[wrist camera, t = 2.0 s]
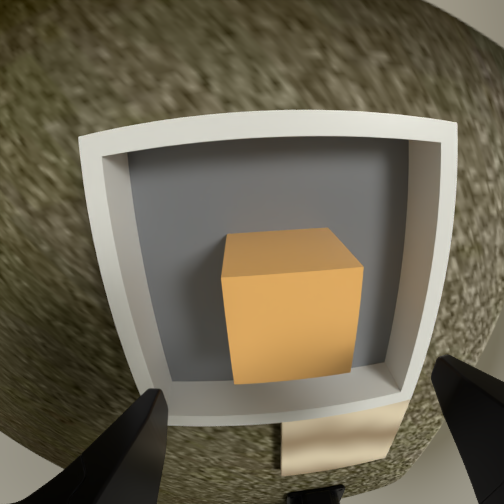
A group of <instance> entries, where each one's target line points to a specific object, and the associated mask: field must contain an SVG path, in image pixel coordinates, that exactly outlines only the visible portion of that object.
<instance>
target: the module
mask: <svg viewBox="0 0 504 504" xmlns="http://www.w3.org/2000/svg"><path fill="white" fill-rule="evenodd" d="M363 270H364V267H363V265H362V264H361V263H360V262H359V261H358V260H357V259H356V258H355V256H354V255H353V254H352V253H351V252H350V251H349V250H348V249H347V248H346V246H345V245H344V244H343V243H342V242H341V241H340V240H339V239H338V238H337V237H336V236H335V234H334V233H333V232H332V231H331V230H330V229H329V228H311V229H295V230H279V231H264V232H249V233H234V234H227V237H226V244H225V252H224V259H223V266H222V274H221V282H222V291H223V300H224V308H225V317H226V325H227V333H228V341H229V349H230V356H231V364H232V371H233V379H234V385H235V384H253V383H267V382H279V381H289V380H299V379H308V378H316V377H323V376H331V375H338V374H344V373H350V372H351V366H352V360H353V354H354V347H355V340H356V333H357V326H358V318H359V310H360V301H361V291H362V281H363Z"/></svg>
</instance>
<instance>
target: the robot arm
mask: <svg viewBox="0 0 504 504" xmlns="http://www.w3.org/2000/svg"><path fill="white" fill-rule="evenodd" d="M431 380H432V384H433V386H434V389H435V392H436V395H437V398H438V401H439V404H440V407H441V410H442V413H443V415H444V418H445V420H446V422H447V424H448V427H449V429H450V431H451V433H452V436H453V438H454V441H455V443H456V445H457V448H458V450H459V453H460V455H461V458H462V460H463V463H464V465H465V468H466V470H467V473H468V476H469V478H470V481H471V483H472V486H473V489H474V492H475V495H476V498H477V500H478V503H479V504H504V382H503V381H501V380H499V379H497V378H494V377H493V376H491V375H489V374H486V373H484V372H482V371H481V370H478V369H477V368H475V367H473V366H471V365H469V364H467V363H465V362H463V361H461V360H459V359H457V358H455V357H453V356H451V355H443V356H440V357H438V358H437V360H436V363H435V366H434V368H433V371H432V374H431ZM167 425H168V405H167V402H166V399H165V397H164V394H163V391H162V390H161V389H159V388H149V389H147V390H146V391H145V392H144V393H143V394H142V395H141V396H140V397H139V398H138V399H137V400H136V401H135V402H134V403H133V404H132V405H131V406H130V407H129V408H128V409H127V410H126V411H125V412H124V413H123V414H122V415H121V416H120V417H119V418H118V419H117V420H116V421H115V422H114V423H113V424H112V425H111V426H110V427H109V428H108V429H106V430H105V431H104V432H103V433H102V434H101V435H100V436H99V437H98V438H97V439H96V440H95V441H94V442H93V443H92V444H91V445H90V446H89V447H88V448H87V449H86V450H85V451H84V452H83V453H82V454H81V455H82V456H81V455H79V456H78V457H77V458H76V459H75V460H74V461H73V462H72V463H71V464H70V465H69V466H68V467H66V468H65V469H64V470H63V471H62V472H61V473H59V474H58V475H57V476H56V477H54V478H53V479H52V480H50V481H49V482H48V483H46V484H45V485H43V486H42V487H41V488H39V489H38V490H37V491H35V492H34V493H32V494H31V495H30V496H28V497H26V498H25V499H23V500H21V501H18V502H16V503H11V504H157V498H158V492H159V486H160V481H161V475H162V470H163V465H164V459H165V453H166V440H167ZM344 490H345V486H344V485H341V486H336V487H330V488H324V489H318V490H312V491H305V492H297V493H290V494H287V501H286V504H340V500H341V497H342V495H343V493H344Z"/></svg>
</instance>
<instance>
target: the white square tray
mask: <svg viewBox="0 0 504 504" xmlns="http://www.w3.org/2000/svg"><path fill="white" fill-rule="evenodd" d="M78 138H79V149H80V159H81V167H82V175H83V183H84V190H85V196H86V203H87V209H88V214H89V220H90V225H91V231H92V236H93V241H94V245H95V250H96V254H97V259H98V263H99V267H100V272H101V276H102V280H103V283H104V287H105V291H106V295H107V298H108V302H109V306H110V309H111V312H112V316H113V319H114V322H115V326H116V329H117V332H118V335H119V338H120V341H121V344H122V347H123V350H124V353H125V356H126V359H127V362H128V364H129V367H130V370H131V373H132V375H133V378H134V381H135V383H136V386H137V388H138V391H139V393H140V396H141V395H142V394H143V393H144V392H145V391H146V390H147V389H149V388H159V389H161V390H162V391H163V394H164V397H165V399H166V402H167V405H168V425H170V426H238V425H257V424H270V423H281V422H291V421H300V420H308V419H316V418H322V417H329V416H335V415H341V414H347V413H352V412H358V411H363V410H368V409H372V408H377V407H381V406H386V405H390V404H394V403H398V402H402V401H406V400H410V399H411V397H412V395H413V392H414V389H415V386H416V384H417V381H418V378H419V375H420V372H421V369H422V366H423V363H424V359H425V356H426V353H427V350H428V346H429V343H430V339H431V336H432V332H433V328H434V324H435V320H436V316H437V312H438V308H439V304H440V299H441V295H442V290H443V285H444V280H445V275H446V269H447V263H448V257H449V251H450V244H451V237H452V229H453V220H454V210H455V198H456V182H457V123H456V122H450V121H444V120H437V119H430V118H423V117H415V116H407V115H397V114H387V113H374V112H359V111H337V110H273V111H250V112H235V113H222V114H211V115H201V116H192V117H184V118H176V119H169V120H162V121H155V122H149V123H143V124H137V125H132V126H126V127H121V128H116V129H111V130H106V131H102V132H97V133H93V134H88V135H84V136H80V137H78ZM311 228H329V229H330V230H331V231H332V232H333V233H334V234H335V236H336V237H337V238H338V239H339V240H340V241H341V242H342V243H343V244H344V245H345V246H346V248H347V249H348V250H349V251H350V252H351V253H352V254H353V255H354V256H355V258H356V259H357V260H358V261H359V262H360V263H361V264H362V265H363V267H364V270H363V281H362V291H361V301H360V310H359V318H358V326H357V333H356V340H355V347H354V354H353V360H352V366H351V372H350V373H344V374H338V375H331V376H323V377H316V378H308V379H299V380H289V381H279V382H267V383H253V384H235V385H234V379H233V371H232V364H231V356H230V349H229V341H228V333H227V325H226V317H225V308H224V300H223V291H222V282H221V274H222V266H223V259H224V252H225V244H226V237H227V234H234V233H249V232H264V231H279V230H295V229H311Z"/></svg>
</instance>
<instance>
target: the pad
mask: <svg viewBox="0 0 504 504" xmlns="http://www.w3.org/2000/svg"><path fill="white" fill-rule="evenodd" d="M409 401H410V400H406V401H402V402H398V403H394V404H390V405H386V406H381V407H377V408H372V409H368V410H363V411H358V412H352V413H347V414H341V415H335V416H329V417H322V418H316V419H308V420H300V421H291V422H281V476H289V475H297V474H305V473H312V472H319V471H325V470H331V469H336V468H342V467H347V466H351V465H356V464H361V463H365V462H369V461H373V460H377V459H381V458H385V457H386V455H387V453H388V451H389V448H390V446H391V444H392V442H393V440H394V438H395V435H396V433H397V431H398V428H399V426H400V424H401V421H402V419H403V417H404V414H405V412H406V409H407V407H408V404H409Z"/></svg>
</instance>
